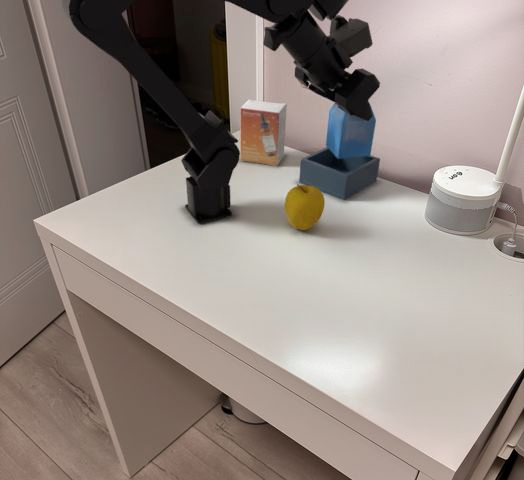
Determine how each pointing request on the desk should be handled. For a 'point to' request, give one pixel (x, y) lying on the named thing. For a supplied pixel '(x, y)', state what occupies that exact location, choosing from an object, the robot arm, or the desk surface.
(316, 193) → the apple
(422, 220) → the desk surface
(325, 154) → the bin
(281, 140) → the small box
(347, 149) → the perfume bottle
